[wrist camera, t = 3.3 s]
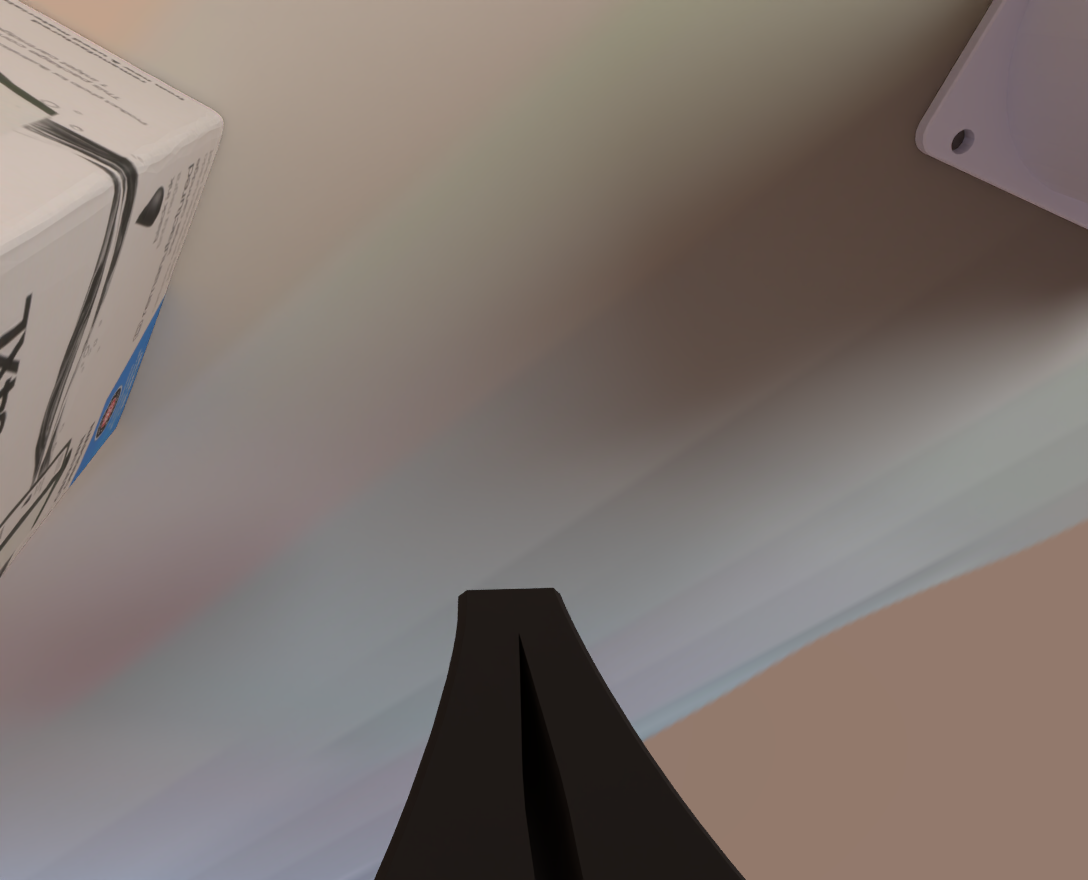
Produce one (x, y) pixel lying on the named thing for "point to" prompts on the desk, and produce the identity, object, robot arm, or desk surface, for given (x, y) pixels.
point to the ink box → (81, 247)
